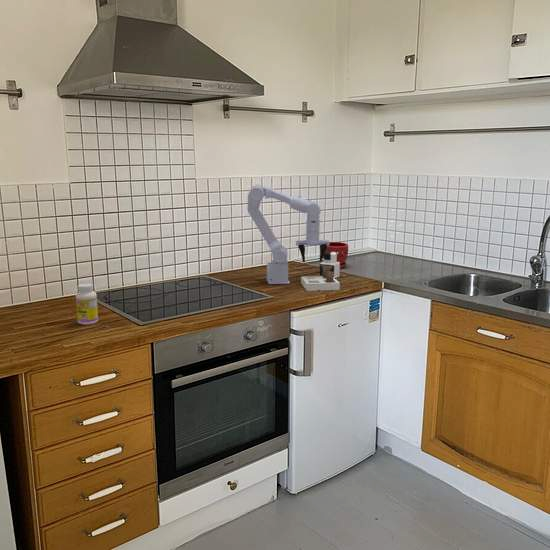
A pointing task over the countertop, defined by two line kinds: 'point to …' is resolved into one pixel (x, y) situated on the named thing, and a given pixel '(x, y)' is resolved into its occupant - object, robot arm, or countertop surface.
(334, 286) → the pin board
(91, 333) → the countertop surface
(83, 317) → the supplement bottle
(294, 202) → the robot arm
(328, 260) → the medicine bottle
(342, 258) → the plant pot
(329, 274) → the walnut pin
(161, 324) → the countertop surface
